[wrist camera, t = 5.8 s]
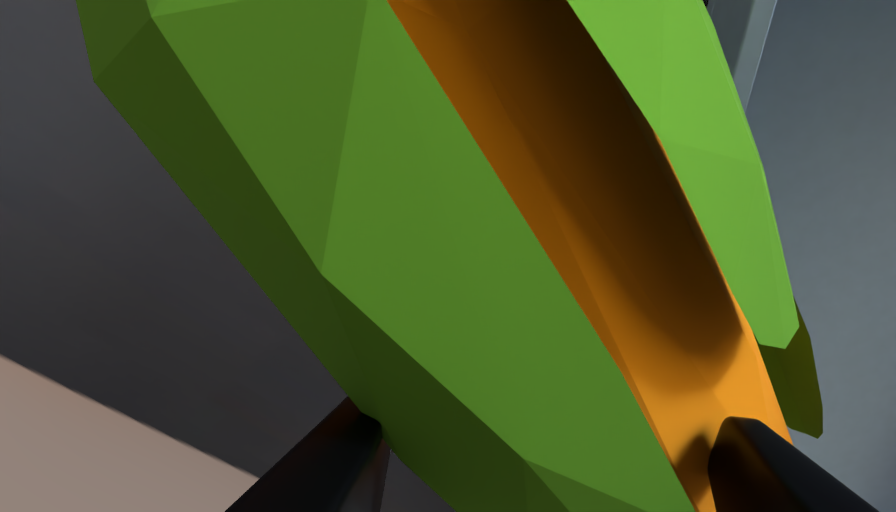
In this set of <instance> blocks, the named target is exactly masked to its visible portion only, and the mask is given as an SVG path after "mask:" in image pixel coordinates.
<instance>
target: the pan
mask: <svg viewBox="0 0 896 512" xmlns="http://www.w3.org/2000/svg"><path fill="white" fill-rule="evenodd" d="M707 11H708V14H709V16H710V18H711V20H712V22H713V24H714V27H715V30H716V33H717V36H718V39H719V41H720V44H721V47H722V50H723V53H724V56H725V59H726V61H727V64H728V67H729V70H730V73H731V76H732V79H733V81H734V84H735V87H736V90H737V93H738V96H739V99H740V101H741V104H742V107H743V110H744V113H745V116H746V119H747V122H748V124H749V127H750V130H751V133H752V136H753V139H754V142H755V144H756V147H757V150H758V153H759V156H760V159H761V162H762V164H763V168H764V172H765V176H766V180H767V185H768V189H769V193H770V198H771V202H772V206H773V211H774V215H775V219H776V223H777V228H778V232H779V236H780V241H781V245H782V249H783V253H784V258H785V262H786V266H787V271H788V275H789V279H790V284H791V288H792V292H793V296H794V298H795V301H796V303H797V306H798V308H799V311H800V313H801V316H802V318H803V320H804V323H805V325H806V328H807V330H808V333H809V335H810V338H811V344H812V349H813V355H814V360H815V366H816V372H817V377H818V383H819V389H820V394H821V400H822V405H823V434H822V435H821V436H820V437H819V438H818V439H817V438H814V437H812V436H810V435H807V434H804V433H801V432H798V431H795V430H792V429H790V428H789V427H788V426H787V429H788V432H789V434H790V437H791V440H792V443H793V446H794V447H796V448H797V449H798V450H800V451H801V452H802V453H803V454H805V455H806V456H807V457H809V458H810V459H811V460H813V461H814V462H815V463H817V464H818V465H819V466H820V467H822V468H823V469H824V470H826V471H827V472H828V473H830V474H831V475H832V476H834V477H835V478H836V479H838V480H839V481H840V482H841V483H843V484H844V485H845V486H847V487H848V488H849V489H851V490H852V491H853V492H855V493H856V494H857V495H858V496H860V497H861V498H862V499H864V500H865V501H866V502H868V503H869V504H870V505H872V506H873V507H874V508H875V509H877V510H878V511H879V512H896V0H709V2H708V6H707Z"/></svg>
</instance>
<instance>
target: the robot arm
mask: <svg viewBox="0 0 896 512" xmlns="http://www.w3.org/2000/svg"><path fill="white" fill-rule="evenodd" d="M390 449H391V448H390V447H389V446H388V444H387V443H386V442H385V441H384V439H383V438H382V428H381V424H380V422H378V421H377V420H376V419H374V418H372V417H370V416H368V415H366V414H364V413H362V412H361V411H360V410H359V409H358V407H357V406H356V405H355V404H354V402H353V401H352V400H351V399H350V397H349V396H348V397H347V398H345V399H344V400H343V401H342V402H341V403H340V404H339V405H338V406H337V407H336V408H335V409H334V410H333V411H332V412H331V413H329V414H328V415H327V416H326V417H325V418H324V419H323V420H322V421H321V422H320V423H319V424H318V425H317V426H316V427H314V428H313V429H312V430H311V431H310V432H309V433H308V434H307V435H306V436H305V437H304V438H303V439H302V440H301V441H300V442H298V443H297V444H296V445H295V446H294V447H293V448H292V449H291V450H290V451H289V452H288V453H287V454H286V455H285V456H284V457H282V458H281V459H280V460H279V461H278V462H277V463H276V464H275V465H274V466H273V467H272V468H271V469H270V470H269V471H267V472H266V473H265V474H264V475H263V476H262V477H261V478H260V479H259V480H258V481H257V482H256V483H255V484H254V485H253V486H251V487H250V488H249V490H247V491H246V492H245V493H244V494H243V495H242V496H241V497H240V498H239V499H238V500H237V501H235V502H234V503H233V504H232V505H231V506H230V507H229V508H228V509H227V510H226V511H225V512H380V509H381V503H382V497H383V491H384V485H385V479H386V473H387V467H388V461H389V455H390ZM707 470H708V478H709V482H710V486H711V491H712V495H713V500H714V504H715V508H716V512H879V511H878V510H877V509H875V508H874V507H873V506H872V505H870V504H869V503H868V502H866V501H865V500H864V499H862V498H861V497H860V496H858V495H857V494H856V493H855V492H853V491H852V490H851V489H849V488H848V487H847V486H845V485H844V484H843V483H841V482H840V481H839V480H838V479H836V478H835V477H834V476H832V475H831V474H830V473H828V472H827V471H826V470H824V469H823V468H822V467H820V466H819V465H818V464H817V463H815V462H814V461H813V460H811V459H810V458H809V457H807V456H806V455H805V454H803V453H802V452H801V451H800V450H798V449H797V448H796V447H794V446H793V445H792V444H790V443H789V442H788V441H786V440H785V439H784V438H782V437H781V436H780V435H779V434H777V433H776V432H775V431H773V430H772V429H771V428H769V427H768V426H767V425H765V424H764V423H763V422H761V421H760V420H758V419H754V418H746V417H736V416H729V417H727V418H725V419H724V420H723V422H722V424H721V426H720V428H719V431H718V434H717V436H716V439H715V442H714V445H713V447H712V450H711V453H710V455H709V460H708V468H707Z"/></svg>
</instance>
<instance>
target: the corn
mask: <svg viewBox="0 0 896 512" xmlns="http://www.w3.org/2000/svg"><path fill="white" fill-rule="evenodd" d="M76 3H77V8H78V12H79V17H80V21H81V26H82V30H83V35H84V39H85V44H86V48H87V53H88V57H89V62H90V66H91V71H92V76H93V80H94V82H95V83H96V85H97V86H98V87H99V88H100V90H101V91H102V92H103V93H104V95H105V96H106V97H107V98H108V99H109V101H110V102H111V103H112V104H113V106H114V107H115V108H116V109H117V111H118V112H119V113H120V114H121V116H122V117H123V118H124V119H125V120H126V122H127V123H128V124H129V125H130V127H131V128H132V129H133V130H134V132H135V133H136V134H137V135H138V137H139V138H140V139H141V140H142V142H143V143H144V144H145V145H146V146H147V148H148V149H149V150H150V151H151V153H152V154H153V155H154V156H155V158H156V159H157V160H158V161H159V163H160V164H161V165H162V166H163V167H164V169H165V170H166V171H167V172H168V174H169V175H170V176H171V177H172V179H173V180H174V181H175V182H176V184H177V185H178V186H179V187H180V188H181V190H182V191H183V192H184V193H185V195H186V196H187V197H188V198H189V200H190V201H191V202H192V203H193V205H194V206H195V207H196V208H197V210H198V211H199V212H200V213H201V214H202V216H203V217H204V218H205V219H206V221H207V222H208V223H209V224H210V226H211V227H212V228H213V229H214V231H215V232H216V233H217V234H218V235H219V237H220V238H221V239H222V240H223V242H224V243H225V244H226V245H227V247H228V248H229V249H230V250H231V252H232V253H233V254H234V255H235V256H236V258H237V259H238V260H239V261H240V263H241V264H242V265H243V266H244V268H245V269H246V270H247V271H248V273H249V274H250V275H251V276H252V278H253V279H254V280H255V281H256V282H257V284H258V285H259V286H260V287H261V289H262V290H263V291H264V292H265V294H266V295H267V296H268V297H269V299H270V300H271V301H272V302H273V303H274V305H275V306H276V307H277V308H278V310H279V311H280V312H281V313H282V315H283V316H284V317H285V318H286V320H287V321H288V322H289V323H290V325H291V326H292V327H293V328H294V329H295V331H296V332H297V333H298V334H299V336H300V337H301V338H302V339H303V341H304V342H305V343H306V344H307V346H308V347H309V348H310V349H311V350H312V352H313V353H314V354H315V355H316V357H317V358H318V359H319V360H320V362H321V363H322V364H323V365H324V367H325V368H326V369H327V370H328V371H329V373H330V374H331V375H332V376H333V378H334V379H335V380H336V381H337V383H338V384H339V385H340V386H341V388H342V389H343V390H344V391H345V393H346V394H347V395H348V396H349V397H350V399H351V400H352V401H353V402H354V404H355V405H356V406H357V407H358V409H359V410H360V411H361V412H362V413H364V414H366V415H368V416H370V417H372V418H374V419H376V420H377V421H378V422H380V424H381V428H382V438H383V439H384V441H385V442H386V443H387V444H388V446H389V447H390V448H391V449H392V451H393V452H394V453H395V454H396V456H397V457H398V458H399V459H400V460H401V461H402V462H403V463H404V464H405V465H406V466H407V467H409V468H410V469H411V470H412V471H413V472H414V473H415V474H416V475H417V476H418V477H419V478H420V479H422V480H423V481H424V482H425V483H426V484H427V485H428V486H429V487H430V488H431V489H432V490H433V491H435V492H436V493H437V494H438V495H439V496H440V497H441V498H442V499H443V500H444V501H445V502H446V503H448V504H449V505H450V506H451V507H452V508H453V509H454V510H455V511H456V512H716V508H715V504H714V500H713V495H712V491H711V486H710V482H709V478H708V470H707V468H708V460H709V455H710V453H711V450H712V447H713V445H714V442H715V439H716V436H717V434H718V431H719V428H720V426H721V424H722V422H723V420H724V419H725V418H727V417H729V416H736V417H746V418H754V419H758V420H760V421H761V422H763V423H764V424H765V425H767V426H768V427H769V428H771V429H772V430H773V431H775V432H776V433H777V434H779V435H780V436H781V437H782V438H784V439H785V440H786V441H788V442H789V443H790V444H792V445H793V443H792V440H791V437H790V434H789V432H788V429H787V426H788V427H789V428H790V429H792V430H795V431H798V432H801V433H804V434H807V435H810V436H812V437H814V438H817V439H818V438H819V437H820V436H821V435H822V434H823V405H822V400H821V394H820V389H819V383H818V377H817V372H816V366H815V360H814V355H813V349H812V344H811V338H810V335H809V333H808V330H807V328H806V325H805V323H804V320H803V318H802V316H801V313H800V311H799V308H798V306H797V303H796V301H795V298H794V296H793V292H792V288H791V284H790V279H789V275H788V271H787V266H786V262H785V258H784V253H783V249H782V245H781V241H780V236H779V232H778V228H777V223H776V219H775V215H774V211H773V206H772V202H771V198H770V193H769V189H768V185H767V180H766V176H765V172H764V168H763V164H762V162H761V159H760V156H759V153H758V150H757V147H756V144H755V142H754V139H753V136H752V133H751V130H750V127H749V124H748V122H747V119H746V116H745V113H744V110H743V107H742V104H741V101H740V99H739V96H738V93H737V90H736V87H735V84H734V81H733V79H732V76H731V73H730V70H729V67H728V64H727V61H726V59H725V56H724V53H723V50H722V47H721V44H720V41H719V39H718V36H717V33H716V30H715V27H714V24H713V22H712V20H711V18H710V16H709V14H708V11H707V9H706V7H705V5H704V3H703V1H702V0H76Z"/></svg>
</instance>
